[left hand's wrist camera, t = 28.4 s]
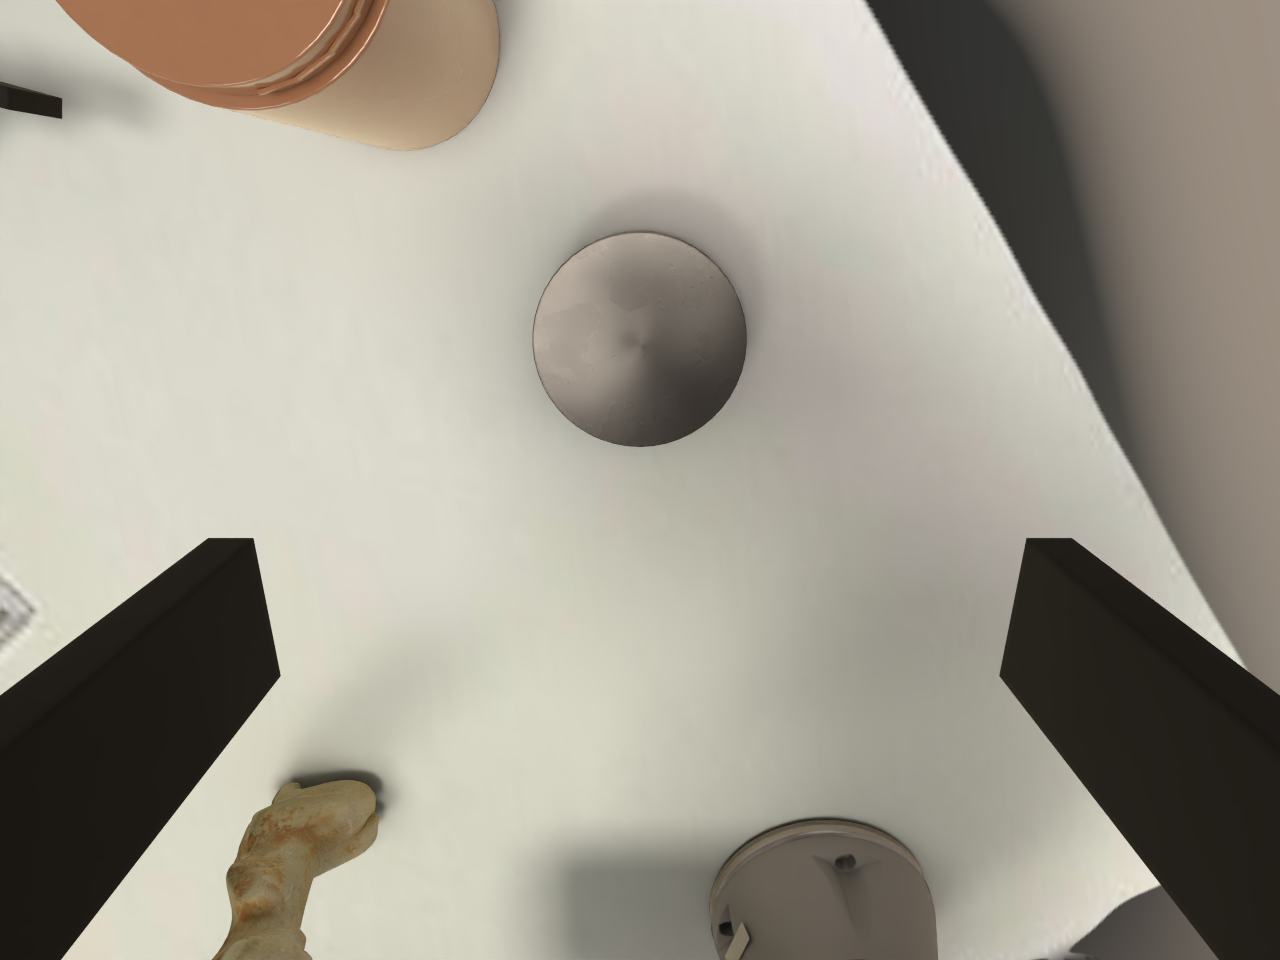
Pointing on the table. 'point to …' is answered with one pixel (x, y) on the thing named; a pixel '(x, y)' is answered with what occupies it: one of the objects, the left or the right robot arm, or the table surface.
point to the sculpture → (292, 864)
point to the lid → (639, 339)
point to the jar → (314, 60)
